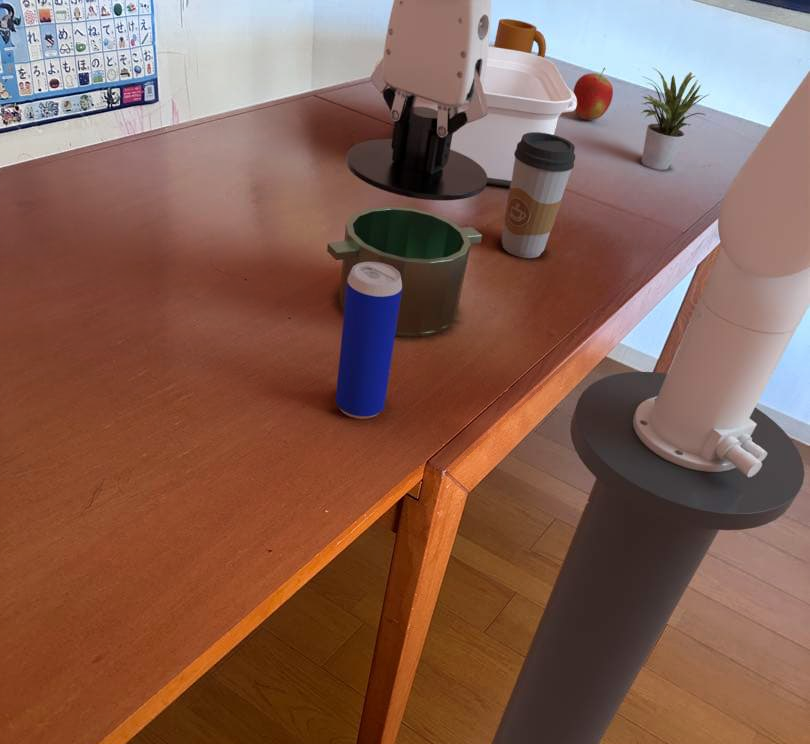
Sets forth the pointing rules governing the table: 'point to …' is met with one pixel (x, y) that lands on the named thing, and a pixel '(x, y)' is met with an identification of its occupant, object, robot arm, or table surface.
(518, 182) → the coffee cup
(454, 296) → the cooker pot
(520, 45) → the mug
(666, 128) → the house plant
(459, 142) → the white storage tub
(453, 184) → the lid
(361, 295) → the beverage can
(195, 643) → the table surface
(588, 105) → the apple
